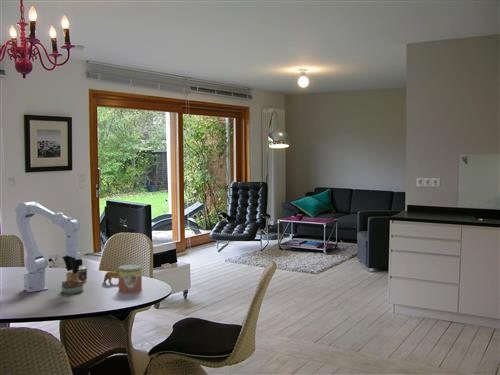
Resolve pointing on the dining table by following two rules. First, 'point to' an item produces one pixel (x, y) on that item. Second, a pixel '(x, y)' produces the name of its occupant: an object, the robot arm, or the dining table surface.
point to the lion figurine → (111, 276)
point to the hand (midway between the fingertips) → (72, 271)
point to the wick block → (72, 277)
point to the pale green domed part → (72, 290)
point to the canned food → (130, 279)
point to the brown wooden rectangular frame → (72, 284)
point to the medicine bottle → (81, 272)
